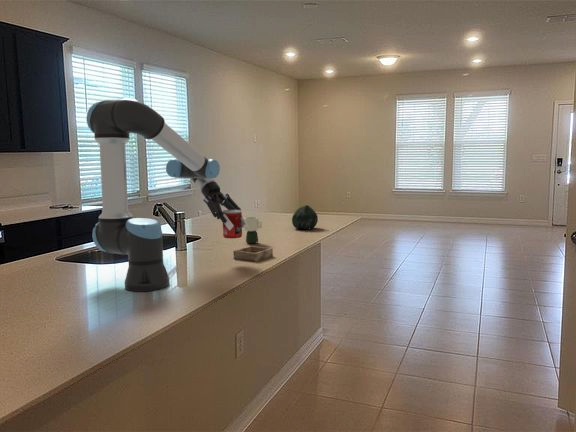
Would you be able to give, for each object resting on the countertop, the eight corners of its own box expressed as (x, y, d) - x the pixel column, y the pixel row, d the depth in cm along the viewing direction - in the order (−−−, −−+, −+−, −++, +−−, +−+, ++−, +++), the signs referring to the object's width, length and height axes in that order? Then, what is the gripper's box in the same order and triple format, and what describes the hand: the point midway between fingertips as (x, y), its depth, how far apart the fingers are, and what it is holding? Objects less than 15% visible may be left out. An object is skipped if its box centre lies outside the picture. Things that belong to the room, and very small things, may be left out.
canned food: (239, 238, 202) (238, 212, 200) (220, 238, 204) (219, 211, 202) (244, 235, 209) (244, 209, 208) (226, 235, 211) (225, 209, 210)
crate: (255, 261, 208) (255, 253, 208) (233, 258, 215) (233, 250, 215) (272, 256, 218) (272, 248, 218) (251, 253, 225) (251, 245, 225)
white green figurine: (264, 242, 252) (264, 217, 250) (259, 245, 245) (259, 219, 243) (244, 241, 255) (244, 216, 253) (239, 244, 248) (238, 218, 246)
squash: (294, 217, 302) (292, 200, 291) (318, 218, 300) (318, 201, 289) (291, 235, 293) (289, 219, 282) (317, 236, 291) (316, 220, 280)
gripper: (195, 181, 201) (226, 223, 194) (228, 179, 218) (258, 217, 211) (186, 194, 205) (216, 236, 198) (220, 190, 221) (249, 229, 214)
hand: (238, 226), depth 204 cm, fingers closed on canned food, 8 cm apart
